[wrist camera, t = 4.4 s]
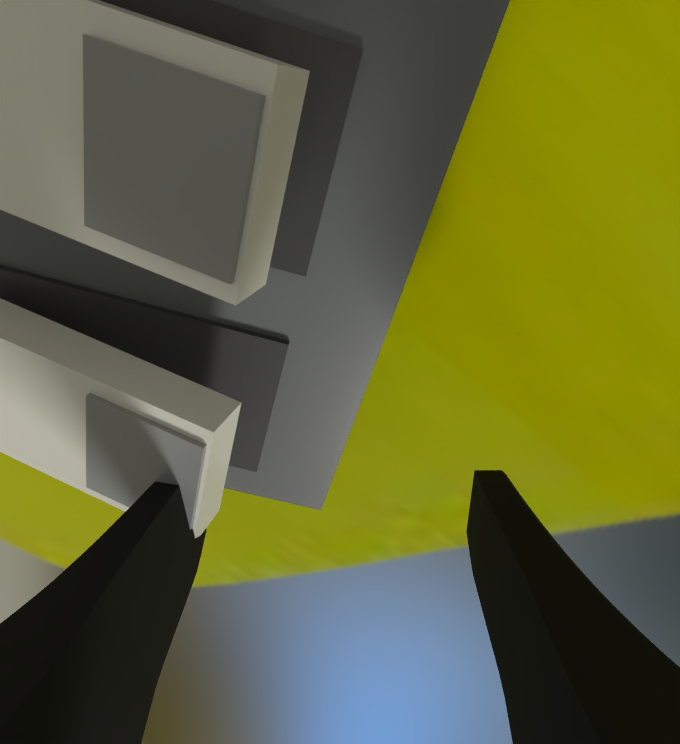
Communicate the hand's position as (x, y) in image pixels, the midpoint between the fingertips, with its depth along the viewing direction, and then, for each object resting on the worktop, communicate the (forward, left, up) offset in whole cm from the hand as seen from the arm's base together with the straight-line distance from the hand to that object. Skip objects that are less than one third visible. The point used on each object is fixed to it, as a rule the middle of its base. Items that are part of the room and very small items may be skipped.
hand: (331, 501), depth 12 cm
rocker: (+6, 0, -1) cm, 6 cm away
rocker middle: (+6, -7, -1) cm, 9 cm away
